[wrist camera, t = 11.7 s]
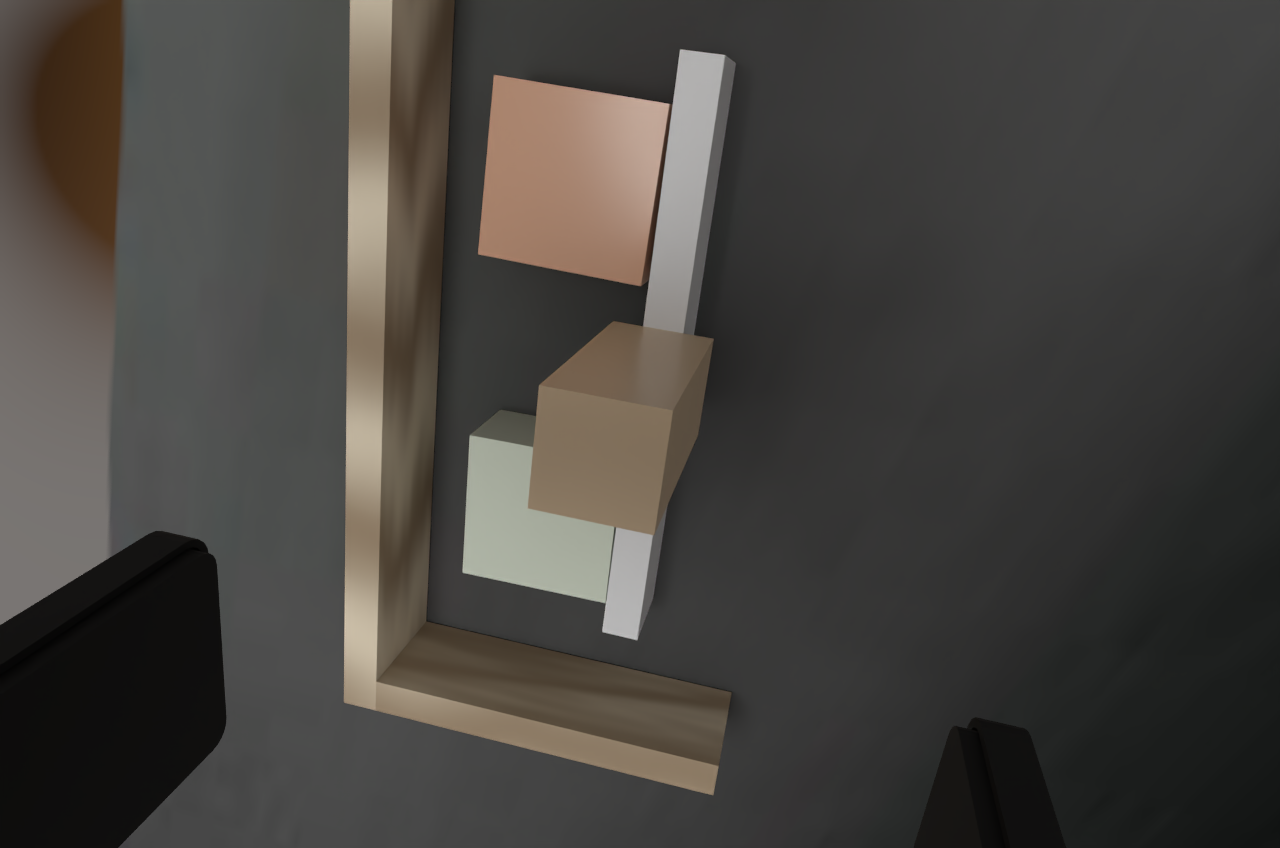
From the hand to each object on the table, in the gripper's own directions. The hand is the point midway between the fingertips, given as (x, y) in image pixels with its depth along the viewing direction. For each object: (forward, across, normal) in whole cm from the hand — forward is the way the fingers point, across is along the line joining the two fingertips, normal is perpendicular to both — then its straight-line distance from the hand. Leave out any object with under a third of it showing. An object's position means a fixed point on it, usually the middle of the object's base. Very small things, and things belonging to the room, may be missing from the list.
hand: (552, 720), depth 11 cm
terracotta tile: (+19, +5, -5) cm, 20 cm away
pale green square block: (+19, +5, +6) cm, 20 cm away
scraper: (+19, +2, +1) cm, 19 cm away
